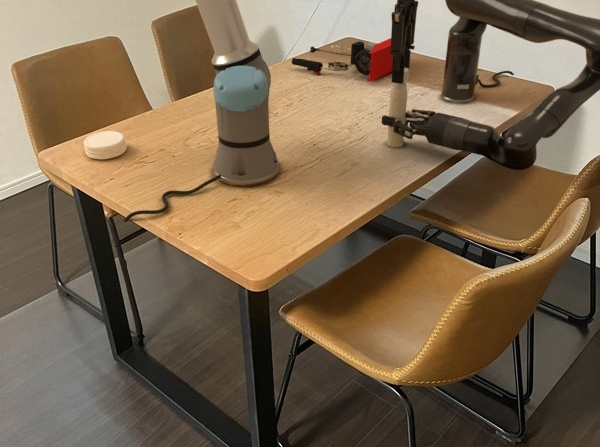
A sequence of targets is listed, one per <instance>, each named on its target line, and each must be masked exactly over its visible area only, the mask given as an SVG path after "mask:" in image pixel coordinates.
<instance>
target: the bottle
mask: <svg viewBox="0 0 600 447" xmlns="http://www.w3.org/2000/svg"><path fill="white" fill-rule="evenodd" d="M407 86H408V85H407V81H404V82H403V84H400V83H392V87H391V90H390V94H389V95H390V96H389V108H388V109H389V110H388V116H390V117H394V118H398V119H405V118H406V111H407V106H408V105H407V104H408V88H407ZM402 124H404V123H402ZM393 130H394V127H391V126H387V137H386V138H387V139H386V141H387V142H386V144H387V146H389V147H391V148H400V147H403V146H404V142H405V141H404V140H405V137H403V136H401V135H399V134H397V133H394V132H393Z"/></svg>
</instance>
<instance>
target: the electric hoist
mask: <svg viewBox="0 0 600 447" xmlns="http://www.w3.org/2000/svg"><path fill="white" fill-rule="evenodd" d="M330 47H331V48H333V49H340V50H341V51H343V50H347V51H350V54H347V56H348V57H350V64H347V63H345V62H340V61H334V62H332V61H329V62H327V65H328V66H327V67H324V65H323V63H322V62H321V61H315V60H310V59H305V58H297V57H296V58H295V57H292V59H291V64H292V65H293V66H298V67H302V68H303V67H304V68H306V71H310V72H313V74H314V75H320V74H321V71H322V70H328V71H334V72H341V71H342V72H346V71H348V70H349V67H350V66H354V67H355V69H356V70H357V72H358V73H359V74H362V75H364V76H368V78H367V79H366V81H367V82H372V81H374V80H376V79H378V78H381V77H383V76H385V75H387V74H389V73H392V65H393V56H391V55H389V53H390V52H391V37H390V38H388V39H385V40H383V41H381V42H378V43H377V42H368V44H366V45H365V42H363V41H356V42H353V43H351V47H349V46H344V45H341V46H339V45H338V44H333V45H330ZM316 51H317V52H324V53H325V52H326V53H331V54H336V55H340V56H341V55H342V56H346V54H343V53H338V52H333V51H328V50H322V49H319V48H316V47H315V46H310V48H309V53H312V54H314V53H315V52H316Z"/></svg>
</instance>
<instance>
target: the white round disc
mask: <svg viewBox="0 0 600 447" xmlns="http://www.w3.org/2000/svg"><path fill="white" fill-rule="evenodd" d="M83 146H84V151H85V154H86V156H87V157H88V158H91V159H94V160H109V159H113V158H117V157H120V156H122V155H123V154H124V153H125V152H126V151H127V147H128V146H127V142H126V137H125V135H124V134H122V133H121V132H119V131H115V130H114V131H113V130H106V131H105V130H104V131H99V132H95V133H93V134H90V135H88V136H87V137H85V139H84V140H83Z"/></svg>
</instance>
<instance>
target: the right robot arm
mask: <svg viewBox="0 0 600 447" xmlns="http://www.w3.org/2000/svg"><path fill="white" fill-rule="evenodd" d="M444 1H445V5H446V7H447V9H448V10H449V12H450V13H451V14H452V15H454V16H456V17H458V20H457V21H456V22H455V23H454V24H453V25H452V26H451V27H450V28H449V30H448V37H447V44H446V53H445V63H444V70H443V71H444V72H443V81H442V89H441V94H440V97H441V99H442V100H444V101H446V102H448V103H454V104H466V103H470V102H472V101H474V99H475V91H476V90H475V89H476V86H478V85H479V86H480V87H482V88H494V87H497V86H499V85H500V84H501V81H500V80H499V79H498V78H497V77H498V76H499V75H503V74H509V75H511V76H515V73H514V72H513V71H510V70H502V71H499V72H496V73H494V74H493V75H492V76H491V78H492V80H493V81H494V82H495V83H492V84H484V83H482V81H481V79H480V78H479V76H480V74H478V70H479V69H478V68H479V63H480V54H481V48H482V47H481V46H482V40H483V35H484V33H485V31H486V30H487V26H490V27H492V28H495V29H497V30H499V31H503V32H505V33H508V34H510V35H513V36H514V37H517V38H520V39H522V40H525V41H527V42H530V43H534V44H544V43H549V42H553V41H557V40H562V41H567V42H569V43H570V42H571V43H574V44H576V45H578V46H581V47H582V48H584V49H585V61H586V64H585V65H584V67H583V69H582V70H581V71H580V72H579V74H578V76H577V77H576V78H574V80H572V81H571V82H569V83H567V84H566V85H564V86H563V85H562V86H560V87H558V88H556V89H554V90H553V91H551V92H550V93H549V94H547V95H546V96H545V97H544V98H543V99H542V100H541V101H540V102H539V104H538V105H537V106H535V108H534V109H533V110H532V112H531V113H530V114H528V115H527V116H525V117H523V118H522V119H521V120H518V121H517V122H516V123H515V124H514V125H512V126H511V127H510V128H509V129H508V130H507V131H506V133H505V134H504V136H502V135H500V134H499V132H498V131H497V129H496V128H495V127H494V126H492V125H490V124H484V123H480V122H475V121H473V120H470V119H467V118H464V117H460V116H455V115H451V114H447V113H444V112H443V113H442V112H436V111H434V110H424V109H416V108H413V109H411V111H410V110H406V118H405V119H398V118H394V117H390V116H389V115H385V114H384V115H382V116H381V125H384V126H387V127H388V126H391V127H394V130H393V132H394V133H397V134H399V135H401V136H403V137H404V139H407V140H413V136H421V137H425V138H426V141H427V142H428V144H432V145H435V146H439V147H443V148H447V149H451V150H455V151H463V152H467V153H471V154H473V155H479V156H482V157H484V158H486V159H488V160H489V161H492V162H493V163H496V164H497V165H499V166H502V167H504V168H507V169H510V170H514V171H523V170H527V169H529V168H531V167H532V166H533V165H534V164H535V163H536V160H537V154H538V153H537V152H538V151H537V144H538V143H539V141H541V139H549V138H551V137H552V136H554V135H555V134H556V133H558V131H559V130H560V129H561V128H562V126H564V125H565V123H567V121H568V120H569V119H570V118H571V117H572V115H574V113H575V112H576V111H577V110H578V109H579V108H580V107H581V106H583V105H584V103H586V102H587V101H589V99H590V98H592V97H593V96H594V95H595V94H596V93H598V92H599V91H600V18H596V17H591V16H585V15H581V14H578V13H574V12H570V11H567V10H564V9H561V8H556V7H554V6H551V5H549V4H547V3H543V2H541V1H537V0H444ZM402 123H404V124H402Z"/></svg>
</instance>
